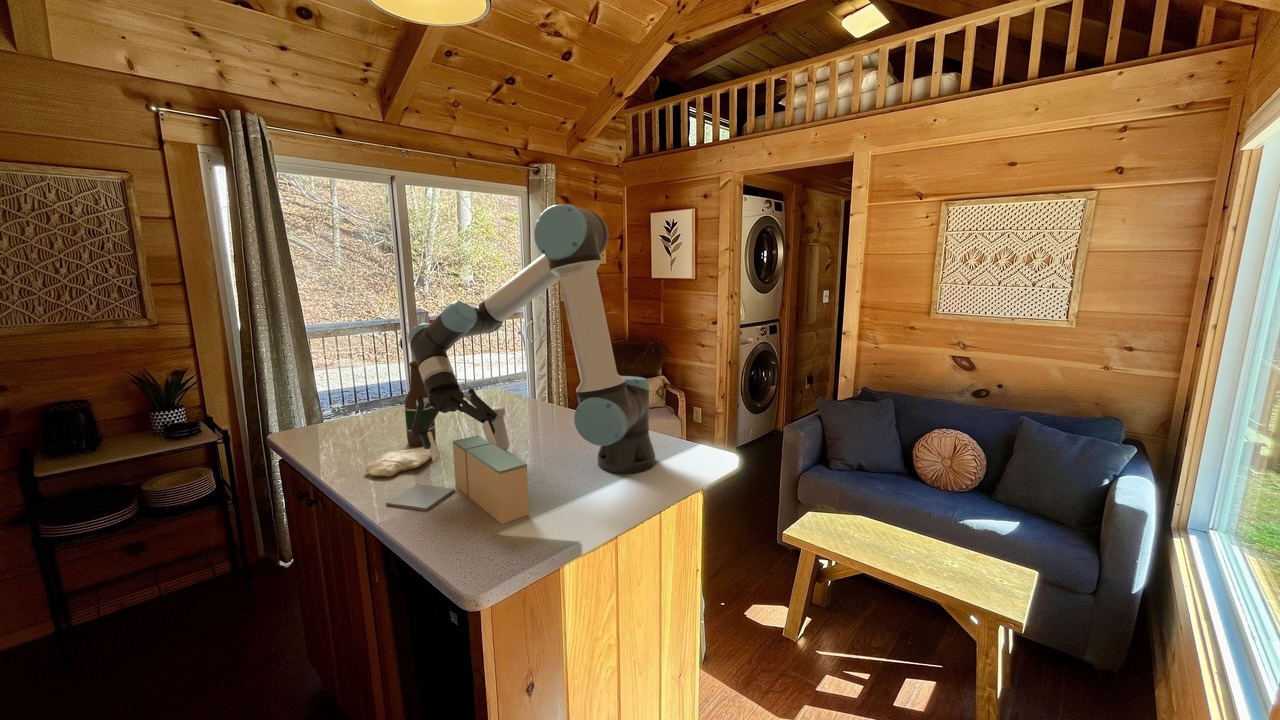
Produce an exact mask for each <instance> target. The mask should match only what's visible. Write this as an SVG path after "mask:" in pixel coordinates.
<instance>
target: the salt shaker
mask: <svg viewBox="0 0 1280 720" xmlns="http://www.w3.org/2000/svg"><path fill="white" fill-rule="evenodd" d="M490 408H491V409H492V410H493V411H494V412H495V413H496V414H497V417H496V419H495V421H494V422H492V424H493V426H494V429H495V433H494V438H495V440H496V443H497V444H496V446H497V447H499V448H500V449H502V450H504V451H505V452H507V453H508V449H509V448H510V441H509V437H508V436H509V435H508V431H507V428H506V423H505V419H504V416H505V415H506V409H505V407H504V406H499V405H497V406H496V405H495V406H491V407H490Z"/></svg>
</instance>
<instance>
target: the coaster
mask: <svg viewBox="0 0 1280 720" xmlns="http://www.w3.org/2000/svg"><path fill="white" fill-rule="evenodd" d="M455 492H456V489H455V488H451V487H443V486H433V485H426V484H418V483H417V484H415V485H413V486H412V487H410V488H408V489H407V490H405V491H403V492H401V493H400V494H398V495H396V496H394V497H393V498H391V499H390V500H388V501H387V502H385V506H387V505H390V506H389V507H394V506H395V508H403V509H409V508H410V509H411V510H418V511H424V512H425V511H426V512H427V511H428V510H430V509H431V508H433V507H435V506H436V505H437V504H439V503H441V502H442V501H443V500H445V499H446V498H447V497H449V496H450V495H452V494H453V493H455Z"/></svg>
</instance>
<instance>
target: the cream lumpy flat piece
mask: <svg viewBox="0 0 1280 720" xmlns="http://www.w3.org/2000/svg"><path fill="white" fill-rule="evenodd" d="M430 459H432V457H431V454H430V451H429V449H425V448H424V447H423V446H421V447H415V448H408V449H403V450H397V451H396V450H395V451H394V450H393V451H389V452H386V453H384V454H382V455H380V457H379V459H378V460H374V461H372V462H370V463H368V464H366V465H365V466H364V470H365V472H366V473H368V474H369V475H371V476H373V477H387V478H390V477H392V476H394V475H397V474H398V473H401V471H402V472H405V471H408V470H411V469H416V468H418V467H420V466H421V465H424V464H425V463H427V462H428V461H429V460H430Z"/></svg>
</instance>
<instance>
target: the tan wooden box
mask: <svg viewBox="0 0 1280 720" xmlns="http://www.w3.org/2000/svg"><path fill="white" fill-rule="evenodd" d="M466 466H467V484H468V496H467V497H468V498H469V499H471V500H472V502H474V503H475V504H477V505H478V506H479V507H480V508H481V509H483V510H484V511H485V512H486V513H487V514H489V515H490V516H491V517H492V518H494V519H495V520H496V521H497V522H498V523H500V524H501V525H504V524H506V523H509V522H512V521H516V520H518V519H520V518H524V517H526V516H529V512H530V511H529V487H528V486H529V483H528V482H529V481H528V463H526V462H524V461H522V460H521V459H520V458H517V457H516V456H514V455H512V454H510V453H509V452H508V451H507V452H505V451H504V450H502V449H500V448H499V447H497V446H495V445H493V444H488V445H484V446H479V447H475V448H471V449H466Z"/></svg>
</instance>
